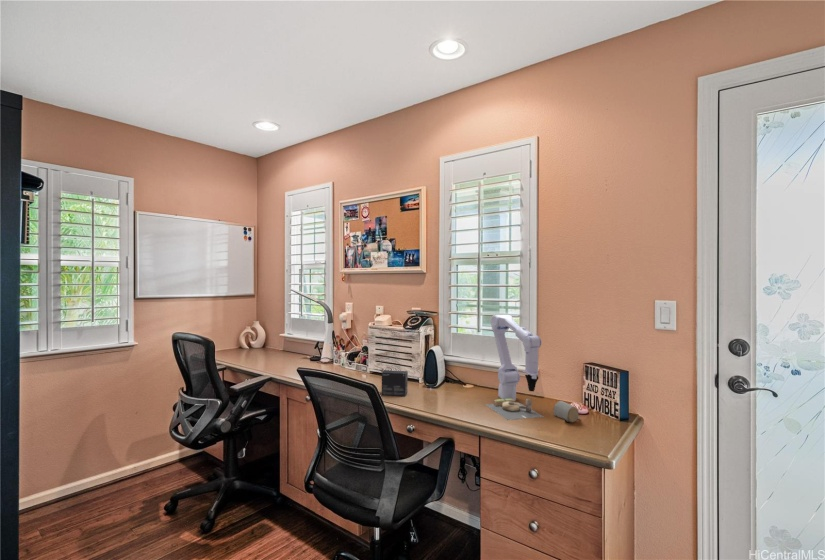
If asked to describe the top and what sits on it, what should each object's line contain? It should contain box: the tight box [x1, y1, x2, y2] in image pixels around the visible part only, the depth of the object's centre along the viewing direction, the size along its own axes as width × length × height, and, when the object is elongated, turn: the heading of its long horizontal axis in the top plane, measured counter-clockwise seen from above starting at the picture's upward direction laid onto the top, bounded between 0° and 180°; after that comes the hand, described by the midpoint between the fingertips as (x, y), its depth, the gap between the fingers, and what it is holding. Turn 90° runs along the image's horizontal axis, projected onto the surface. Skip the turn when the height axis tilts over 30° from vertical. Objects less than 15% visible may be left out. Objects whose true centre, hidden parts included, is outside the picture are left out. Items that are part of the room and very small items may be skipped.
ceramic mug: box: [553, 400, 581, 424], centre depth 177 cm, size 11×8×8 cm
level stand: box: [484, 398, 545, 421], centre depth 184 cm, size 22×18×4 cm
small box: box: [381, 369, 409, 397], centre depth 213 cm, size 13×7×12 cm, turn 82°
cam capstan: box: [502, 398, 532, 412], centre depth 185 cm, size 13×8×5 cm, turn 60°
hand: (531, 391), depth 186 cm, fingers closed
